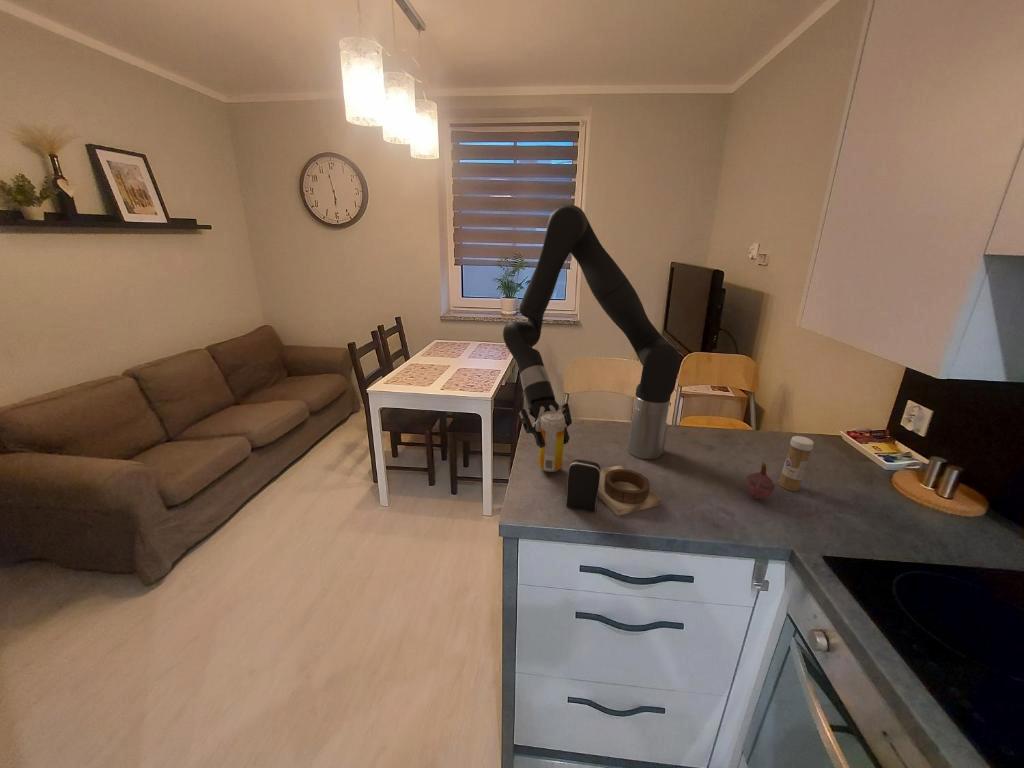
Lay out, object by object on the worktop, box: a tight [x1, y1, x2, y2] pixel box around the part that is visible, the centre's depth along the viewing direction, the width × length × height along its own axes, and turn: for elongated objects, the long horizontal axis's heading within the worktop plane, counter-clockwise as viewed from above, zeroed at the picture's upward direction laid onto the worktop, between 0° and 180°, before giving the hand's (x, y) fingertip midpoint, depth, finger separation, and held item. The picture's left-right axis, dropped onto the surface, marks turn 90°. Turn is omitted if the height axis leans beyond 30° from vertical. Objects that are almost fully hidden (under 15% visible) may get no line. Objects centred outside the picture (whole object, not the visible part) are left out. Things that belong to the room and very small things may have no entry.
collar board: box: [597, 464, 662, 516], centre depth 99 cm, size 12×16×4 cm
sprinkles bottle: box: [778, 435, 815, 492], centre depth 102 cm, size 5×5×14 cm
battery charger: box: [565, 458, 602, 513], centre depth 92 cm, size 7×4×11 cm, turn 71°
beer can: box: [538, 411, 565, 473], centre depth 105 cm, size 6×6×15 cm
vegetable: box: [745, 461, 775, 500], centre depth 97 cm, size 6×6×10 cm
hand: (554, 444), depth 104 cm, fingers closed on beer can, 6 cm apart
